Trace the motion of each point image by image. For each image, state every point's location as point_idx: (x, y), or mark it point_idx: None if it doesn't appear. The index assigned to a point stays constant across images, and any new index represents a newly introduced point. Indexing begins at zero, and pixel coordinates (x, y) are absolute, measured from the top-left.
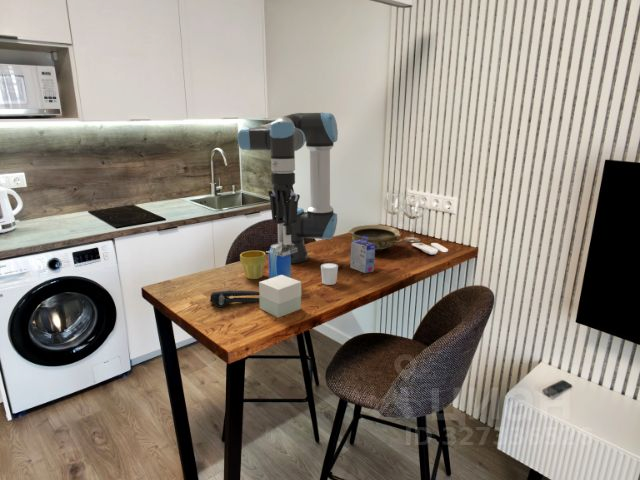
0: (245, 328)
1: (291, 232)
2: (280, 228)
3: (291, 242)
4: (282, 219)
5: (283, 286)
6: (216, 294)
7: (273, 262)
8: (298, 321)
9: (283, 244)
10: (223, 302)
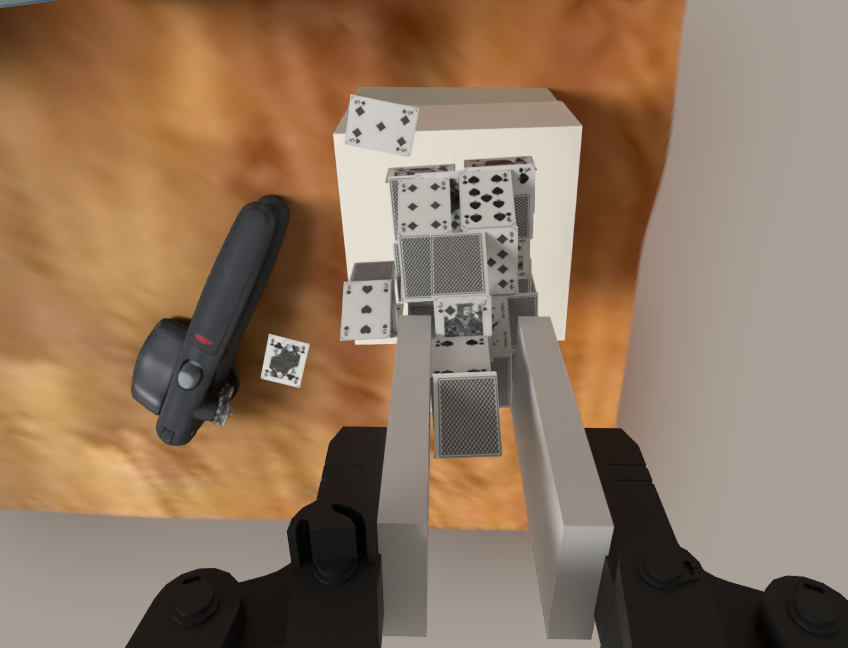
0: (502, 417)
1: (639, 459)
2: (427, 544)
3: (479, 250)
4: (373, 619)
5: (545, 283)
6: (189, 431)
7: (23, 2)
8: (650, 214)
9: (511, 408)
10: (231, 390)
